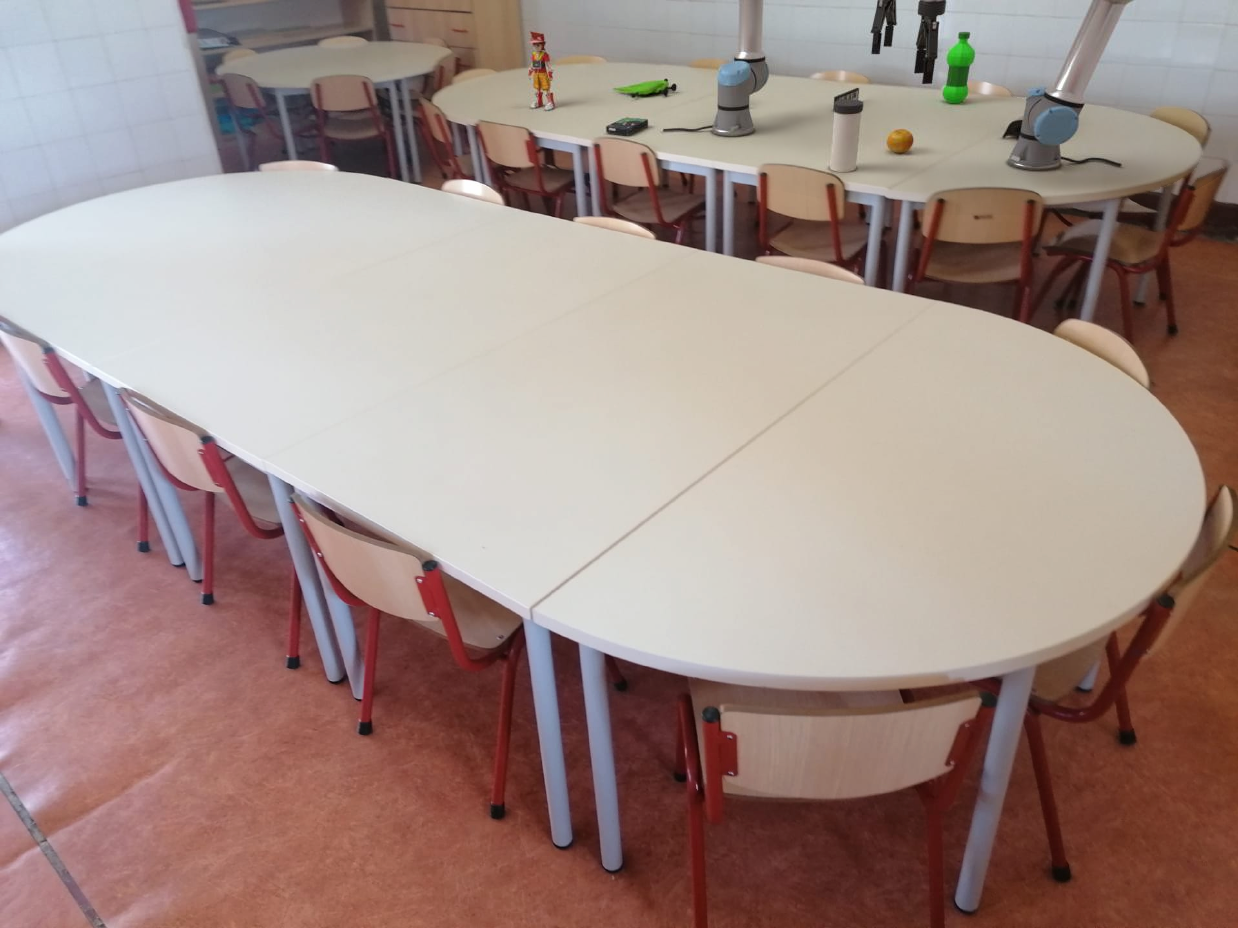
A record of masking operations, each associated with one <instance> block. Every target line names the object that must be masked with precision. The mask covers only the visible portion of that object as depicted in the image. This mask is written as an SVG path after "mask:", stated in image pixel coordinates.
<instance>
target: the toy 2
mask: <svg viewBox="0 0 1238 928" xmlns="http://www.w3.org/2000/svg"><path fill="white" fill-rule="evenodd" d="M669 85H670V83H669V79H668V78H664V79H663V80H649V81H644V82H640V83H634V84H629V85H627V86H621V87H613V88H612V89H613V90H616V91H619V92H623V93H627V94H628V93H629V94H631V95H630V96H631V98H632V99H634V98H636V96H637V95H650V94H652V93H654V94H658V93H662V95H663V96H665V97H667V96H668V95H669V90H671V91H672V92H676V91H677V84H676V83H672V84H671V86H669Z"/></svg>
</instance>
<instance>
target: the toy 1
mask: <svg viewBox="0 0 1238 928" xmlns="http://www.w3.org/2000/svg"><path fill="white" fill-rule="evenodd" d="M529 33H530V35H531V36H528V37H527V38H528V39H529V40H528V41H527V43H529V44H530V43H531V44H532V48H533V50H534V51H533V52H532V55H531V58H530V59H531V63H530V66H528V74H527V75H528V76H527V77H528V79H529V80H531V75H532V74H533V84H532V85H533V86H532V87H533V88H534V89H535V90H536V92H534V95H535V97H536V100H535V101H533V102H531V105H530V108H531V109H535V108H538V107H542V106H544V101H543V100H544V99H543V95H544V92H546V94H545V97H546V99H547V103H546V104H545V106H544V110H546V111H549V110H553V109H554V107H555V106H556V105H555V99H554V92H551V91H550V90H551V86H552V84H551V82H552V81H553V80H554V77H553V73H554V71H555V70H554V69H552V68H551V63H550V61H551V59H550V58H551V57H550V54H549V53H548V52H547V50H546V48H545V46H546V44H547V41H545V35H544V33H543V32H542V33H539V32H535V31H529Z"/></svg>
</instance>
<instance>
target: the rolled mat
mask: <svg viewBox="0 0 1238 928" xmlns="http://www.w3.org/2000/svg"><path fill="white" fill-rule="evenodd" d="M1023 117H1024V115H1022V116H1020V117H1018V118H1016V119H1014V120H1013V121H1011V122H1010V123H1009V124H1008V125H1007V127H1006V129H1005V131H1004V133H1003V135H1002V139H1004V138H1006V137H1013V138H1015V139H1016V140H1018V139H1019V137H1020V132H1021V127H1022V122H1023Z"/></svg>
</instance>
